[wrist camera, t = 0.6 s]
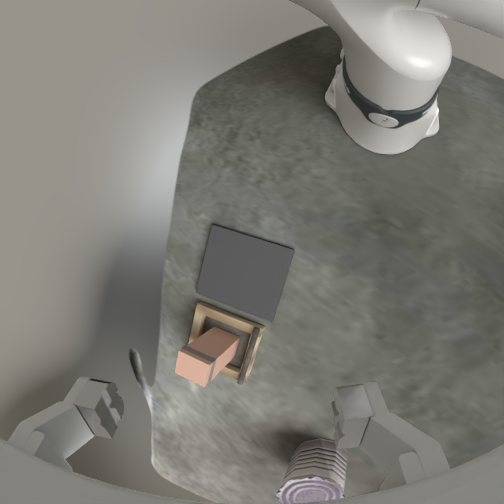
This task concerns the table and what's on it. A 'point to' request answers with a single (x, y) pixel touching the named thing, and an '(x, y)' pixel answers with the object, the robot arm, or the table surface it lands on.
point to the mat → (244, 272)
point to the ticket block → (206, 355)
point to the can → (314, 473)
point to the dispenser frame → (233, 321)
